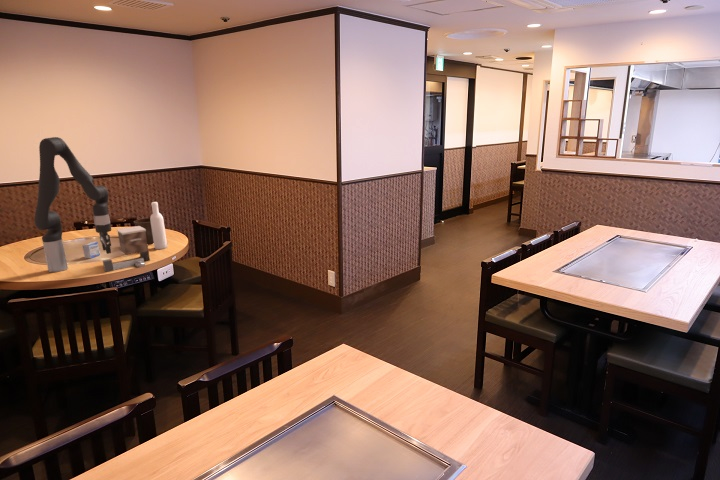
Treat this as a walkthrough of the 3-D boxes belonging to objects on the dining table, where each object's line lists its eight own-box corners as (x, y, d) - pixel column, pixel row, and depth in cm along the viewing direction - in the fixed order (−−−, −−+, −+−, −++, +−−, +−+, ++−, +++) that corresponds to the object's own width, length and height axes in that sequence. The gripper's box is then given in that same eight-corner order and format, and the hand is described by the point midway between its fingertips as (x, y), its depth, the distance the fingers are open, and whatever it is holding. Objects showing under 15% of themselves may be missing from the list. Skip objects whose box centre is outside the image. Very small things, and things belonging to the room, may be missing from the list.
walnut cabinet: (127, 265, 269) (122, 233, 264) (121, 260, 279) (116, 229, 275) (150, 260, 276) (146, 229, 271) (144, 256, 287) (139, 225, 282)
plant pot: (141, 247, 308) (137, 223, 304) (134, 243, 319) (130, 220, 315) (164, 242, 317) (161, 219, 313) (157, 239, 328) (153, 216, 324)
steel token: (135, 268, 264) (134, 264, 263) (135, 265, 268) (135, 262, 268) (144, 266, 266) (144, 263, 265) (145, 264, 270) (144, 261, 270)
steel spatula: (105, 272, 258) (103, 261, 256) (104, 271, 260) (102, 260, 258) (144, 264, 270) (143, 254, 268) (143, 263, 272) (141, 253, 271)
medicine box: (91, 258, 285) (88, 245, 283) (84, 258, 286) (82, 244, 284) (100, 255, 293) (97, 241, 291) (94, 255, 294) (91, 241, 292)
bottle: (169, 247, 305) (163, 201, 297) (157, 250, 299) (150, 203, 292) (164, 245, 310) (157, 200, 303) (152, 248, 305) (145, 202, 297)
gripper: (92, 221, 257) (96, 250, 261) (97, 226, 246) (102, 255, 250) (107, 219, 261) (111, 247, 266) (113, 224, 251) (117, 253, 255)
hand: (107, 251), depth 258 cm, fingers open, 8 cm apart
